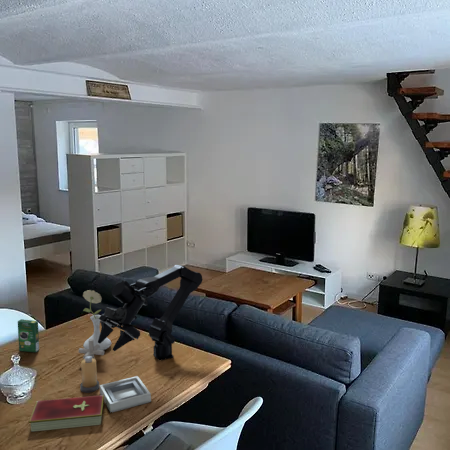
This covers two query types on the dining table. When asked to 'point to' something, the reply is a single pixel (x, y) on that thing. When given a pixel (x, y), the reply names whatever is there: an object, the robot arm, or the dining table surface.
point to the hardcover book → (67, 413)
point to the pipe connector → (91, 350)
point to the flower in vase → (95, 321)
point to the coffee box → (28, 335)
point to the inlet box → (125, 394)
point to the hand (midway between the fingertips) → (106, 346)
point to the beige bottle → (89, 375)
